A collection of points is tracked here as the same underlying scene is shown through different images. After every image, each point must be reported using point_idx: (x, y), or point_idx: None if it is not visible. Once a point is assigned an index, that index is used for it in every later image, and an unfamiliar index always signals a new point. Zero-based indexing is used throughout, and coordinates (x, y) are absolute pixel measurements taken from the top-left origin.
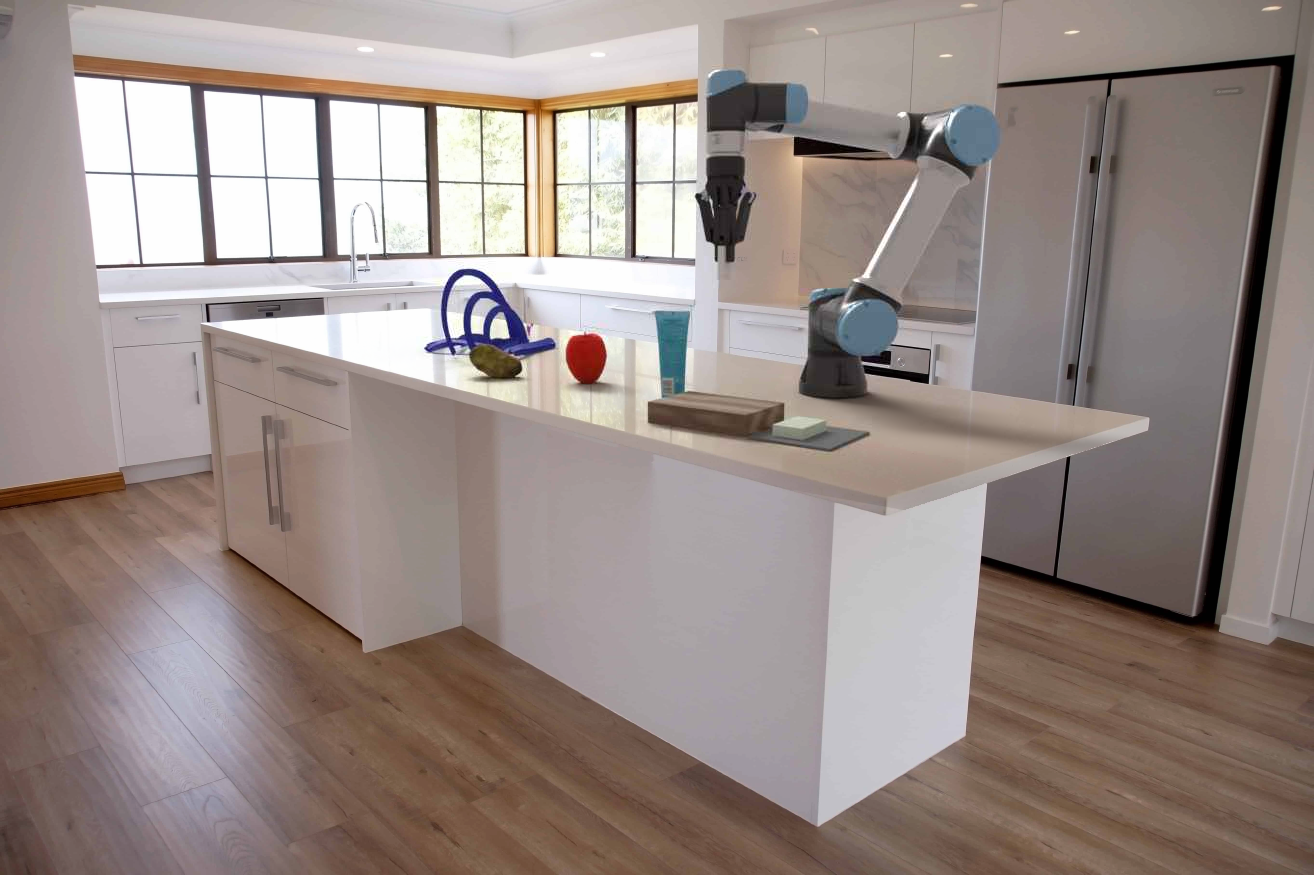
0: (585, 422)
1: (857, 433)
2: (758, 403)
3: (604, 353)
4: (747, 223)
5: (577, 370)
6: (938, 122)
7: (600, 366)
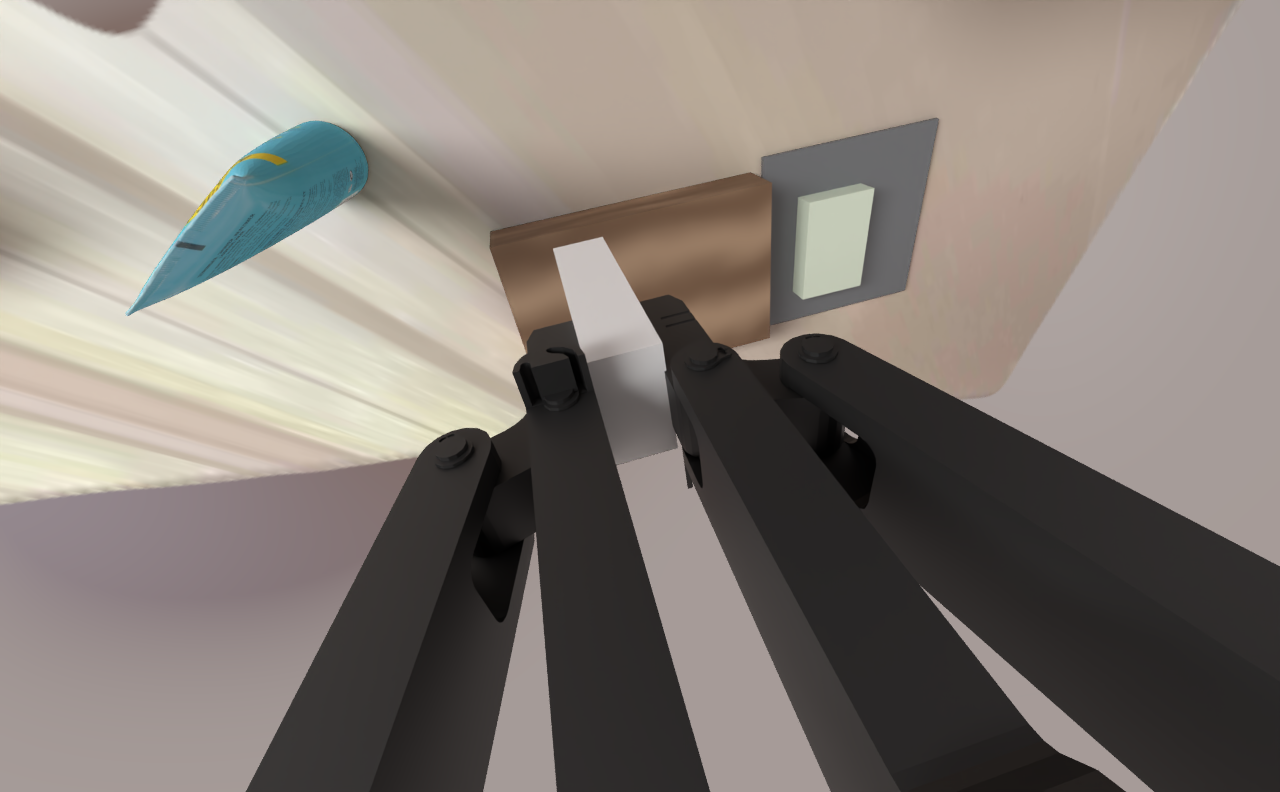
0: None
1: (920, 154)
2: (728, 236)
3: None
4: (1042, 444)
5: None
6: None
7: None
